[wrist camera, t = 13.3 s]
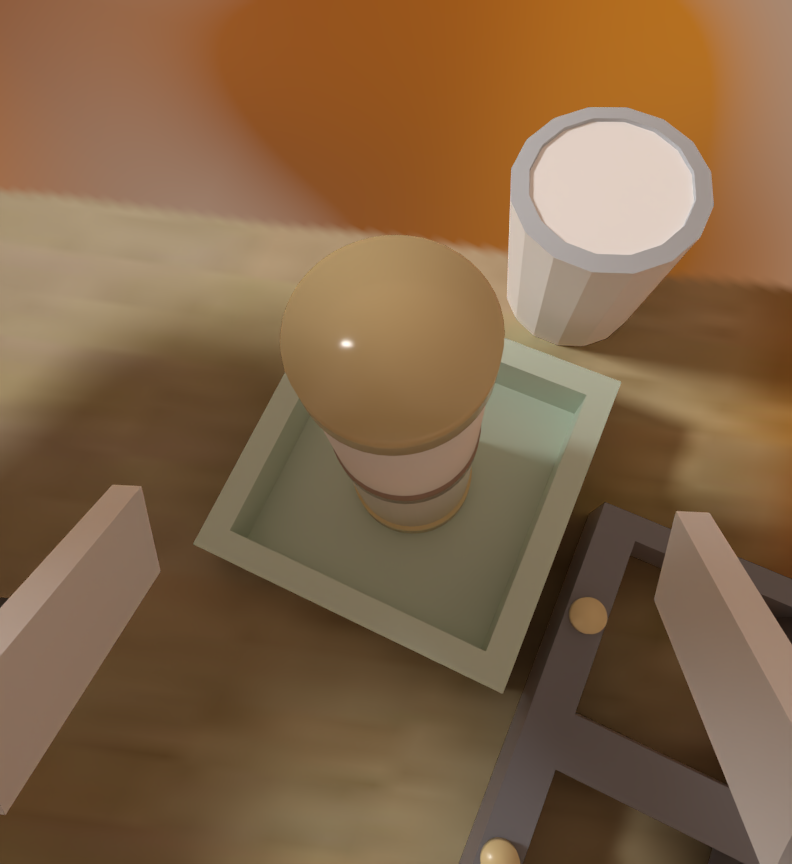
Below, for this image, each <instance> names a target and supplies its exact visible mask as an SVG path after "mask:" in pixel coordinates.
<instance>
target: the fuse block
mask: <svg viewBox="0 0 792 864" xmlns="http://www.w3.org/2000/svg"><path fill="white" fill-rule="evenodd" d="M670 533H671V529H669V528H667V527H664V526H662V525H660V524H657V523H655V522H652V521H650V520H647V519H645V518H643V517H640V516H638V515H635V514H633V513H631V512H628V511H626V510H623V509H621V508H618V507H616V506H614V505H611V504H609V503H606V502H605V503H603V504H602V505H601V506H599V507H598V508H596V509H595V510H594V511H592V512H591V513H590V514H589V515H588V518H587V521H586V523H585V526H584V529H583V531H582V534H581V537H580V540H579V542H578V545H577V548H576V550H575V553H574V556H573V558H572V561H571V564H570V566H569V569H568V572H567V574H566V577H565V580H564V583H563V585H562V588H561V591H560V593H559V596H558V599H557V601H556V604H555V607H554V609H553V612H552V615H551V617H550V620H549V623H548V626H547V628H546V631H545V634H544V636H543V639H542V642H541V644H540V647H539V650H538V652H537V655H536V658H535V660H534V663H533V666H532V669H531V671H530V674H529V677H528V679H527V682H526V685H525V687H524V690H523V693H522V695H521V698H520V701H519V703H518V706H517V709H516V712H515V714H514V717H513V720H512V722H511V725H510V728H509V730H508V733H507V736H506V738H505V741H504V744H503V746H502V749H501V752H500V755H499V757H498V760H497V763H496V765H495V768H494V771H493V773H492V776H491V779H490V781H489V784H488V787H487V790H486V792H485V795H484V798H483V800H482V803H481V806H480V808H479V811H478V814H477V816H476V819H475V822H474V824H473V827H472V830H471V833H470V835H469V838H468V841H467V843H466V846H465V849H464V851H463V854H462V857H461V859H460V862H459V864H523V862H524V859H525V856H526V853H527V850H528V848H529V845H530V842H531V839H532V836H533V833H534V830H535V827H536V825H537V822H538V819H539V816H540V813H541V810H542V807H543V805H544V802H545V799H546V796H547V793H548V790H549V787H550V784H551V782H552V779H553V776H554V773H555V770H558V771H560V772H562V773H564V774H566V775H568V776H570V777H572V778H574V779H576V780H578V781H580V782H582V783H584V784H586V785H588V786H590V787H592V788H594V789H596V790H598V791H600V792H602V793H604V794H606V795H608V796H610V797H612V798H614V799H616V800H618V801H620V802H622V803H624V804H626V805H628V806H630V807H632V808H634V809H636V810H638V811H640V812H642V813H644V814H646V815H648V816H650V817H652V818H654V819H656V820H658V821H660V822H662V823H664V824H666V825H668V826H670V827H672V828H674V829H676V830H678V831H680V832H682V833H684V834H686V835H688V836H690V837H692V838H694V839H696V840H698V841H700V842H702V843H704V844H706V845H708V846H710V847H712V851H711V854H710V858H709V862H708V864H760V863H759V861H758V858H757V856H756V853H755V851H754V848H753V846H752V843H751V841H750V838H749V836H748V833H747V831H746V828H745V826H744V823H743V821H742V818H741V816H740V813H739V811H738V808H737V806H736V803H735V801H734V798H733V796H732V793H731V791H730V788H729V786H728V785H727V784H725V783H722V782H720V781H718V780H716V779H714V778H712V777H710V776H708V775H706V774H704V773H702V772H699V771H697V770H695V769H693V768H691V767H689V766H687V765H685V764H683V763H681V762H679V761H676V760H674V759H672V758H670V757H668V756H666V755H664V754H662V753H660V752H658V751H656V750H653V749H651V748H649V747H647V746H645V745H643V744H641V743H639V742H637V741H635V740H633V739H630V738H628V737H626V736H624V735H622V734H620V733H618V732H616V731H614V730H612V729H610V728H607V727H605V726H603V725H601V724H599V723H597V722H595V721H593V720H591V719H589V718H587V717H584V716H582V715H580V714H578V713H576V710H577V707H578V704H579V701H580V698H581V695H582V692H583V690H584V687H585V684H586V681H587V678H588V675H589V672H590V669H591V667H592V664H593V661H594V658H595V655H596V652H597V649H598V646H599V644H600V641H601V638H602V635H603V632H604V629H605V626H606V623H607V621H608V618H609V615H610V612H611V609H612V606H613V603H614V600H615V598H616V595H617V592H618V589H619V586H620V583H621V580H622V577H623V575H624V572H625V569H626V566H627V563H628V560H629V557H630V555H631V556H633V557H635V558H638V559H640V560H642V561H645V562H647V563H649V564H652V565H654V566H656V567H659V568H661V569H662V565H663V561H664V557H665V553H666V549H667V545H668V541H669V537H670ZM737 558H738V559H739V561H740V562H741V564H742V566H743V567H744V569H745V570H746V572H747V574H748V575H749V577H750V578H751V580H752V582H753V583H754V585H755V586H756V588H757V590H758V591H759V593H760V595H761V596H762V598H763V599H764V601H765V603H766V604H767V606H768V607H769V609H770V611H771V612H772V614H773V615H774V617H776V620H777V622H778V623H779V625H780V627H781V628H782V630H783V631H784V633H785V635H786V636H787V638H788V639H789V641H790V643H791V644H792V579H790V578H788V577H785V576H783V575H781V574H778V573H776V572H773V571H771V570H768V569H766V568H764V567H761V566H759V565H756V564H754V563H752V562H749V561H747V560H744V559H742V558H739V557H737Z"/></svg>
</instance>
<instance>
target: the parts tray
mask: <svg viewBox="0 0 792 864" xmlns="http://www.w3.org/2000/svg"><path fill="white" fill-rule="evenodd" d="M620 384H621V382H620V381H618V380H615V379H612V378H610V377H607V376H604V375H602V374H599V373H596V372H594V371H591V370H588V369H586V368H583V367H580V366H578V365H575V364H572V363H570V362H567V361H564V360H562V359H559V358H556V357H554V356H551V355H549V354H546V353H543V352H541V351H538V350H535V349H533V348H530V347H527V346H525V345H522V344H519V343H517V342H514V341H511V340H509V339H506V338H504V348H503V354H502V359H501V363H500V367H499V371H498V375H497V379H496V382H495V385H494V388H493V391H492V394H491V396H490V398H489V400H488V402H487V404H486V406H485V410H484V415H483V419H482V423H481V434H480V439H479V444H478V448H477V452H476V455H475V458H474V461H473V463H472V477H471V483H470V487H469V491H468V494H467V497H466V500H465V502H464V504H463V506H462V507H461V509H460V510H459V512H458V513H457V514H456V515H455V516H454V517H453V518H452V519H451V520H450V521H448V522H447V523H446V524H444V525H443V526H441V527H439V528H437V529H435V530H432V531H428V532H424V533H416V534H410V533H402V532H397V531H394V530H391V529H389V528H387V527H385V526H383V525H382V524H380V523H379V522H377V521H376V520H375V519H374V518H373V517H372V516H371V515H370V514H369V513H368V511H367V510H366V509H365V507H364V505H363V504H362V502H361V500H360V499H359V497H358V495H357V492H356V490H355V486H354V483H353V481H352V480H351V479H350V478H349V476H348V475H347V474H346V472H345V471H344V469H343V467H342V466H341V464H340V462H339V461H338V459H337V457H336V454H335V452H334V450H333V447H332V445H331V443H330V442H329V440H328V438H327V436H326V435H325V433H324V431H323V429H322V428H320V427H319V426H318V425H317V424H316V422H315V421H314V420H313V419H312V418H311V416H310V415H309V414H308V412H307V410H306V409H305V407H304V406H303V404H302V402H301V401H300V399H299V397H298V396H297V394H296V392H295V391H294V389H293V387H292V386H291V384H290V382H289V379H288V377H287V375H286V373H284V375H283V377H282V379H281V381H280V383H279V384H278V386H277V388H276V390H275V392H274V394H273V396H272V398H271V399H270V401H269V403H268V405H267V407H266V409H265V411H264V412H263V414H262V416H261V418H260V420H259V422H258V424H257V425H256V427H255V429H254V431H253V433H252V435H251V437H250V439H249V440H248V442H247V444H246V446H245V448H244V450H243V452H242V453H241V455H240V457H239V459H238V461H237V463H236V465H235V467H234V468H233V470H232V472H231V474H230V476H229V478H228V480H227V481H226V483H225V485H224V487H223V489H222V491H221V493H220V494H219V496H218V498H217V500H216V502H215V504H214V506H213V508H212V509H211V511H210V513H209V515H208V517H207V519H206V521H205V522H204V524H203V526H202V528H201V530H200V532H199V534H198V536H197V537H196V539H195V541H194V543H193V545H195V546H198V547H200V548H202V549H204V550H206V551H208V552H210V553H212V554H214V555H216V556H218V557H220V558H222V559H224V560H227V561H229V562H231V563H233V564H235V565H237V566H239V567H241V568H243V569H245V570H247V571H249V572H251V573H253V574H255V575H258V576H260V577H262V578H264V579H266V580H268V581H270V582H272V583H274V584H276V585H278V586H280V587H282V588H284V589H286V590H289V591H291V592H293V593H295V594H297V595H299V596H301V597H303V598H305V599H307V600H309V601H311V602H313V603H315V604H318V605H320V606H322V607H324V608H326V609H328V610H330V611H332V612H334V613H336V614H338V615H340V616H342V617H344V618H346V619H349V620H351V621H353V622H355V623H357V624H359V625H361V626H363V627H365V628H367V629H369V630H371V631H373V632H375V633H378V634H380V635H382V636H384V637H386V638H388V639H390V640H392V641H394V642H396V643H398V644H400V645H402V646H404V647H406V648H409V649H411V650H413V651H415V652H417V653H419V654H421V655H423V656H425V657H427V658H429V659H431V660H433V661H435V662H437V663H440V664H442V665H444V666H446V667H448V668H450V669H452V670H454V671H456V672H458V673H460V674H462V675H464V676H466V677H469V678H471V679H473V680H475V681H477V682H479V683H481V684H483V685H485V686H487V687H489V688H491V689H493V690H495V691H497V692H500V693H502V694H503V692H504V690H505V687H506V684H507V682H508V679H509V677H510V674H511V671H512V669H513V666H514V663H515V661H516V658H517V655H518V653H519V650H520V648H521V645H522V642H523V640H524V637H525V634H526V632H527V629H528V626H529V624H530V621H531V619H532V616H533V613H534V611H535V608H536V605H537V603H538V600H539V598H540V595H541V592H542V590H543V587H544V584H545V582H546V579H547V576H548V574H549V571H550V569H551V566H552V563H553V561H554V558H555V555H556V553H557V550H558V547H559V545H560V542H561V540H562V537H563V534H564V532H565V529H566V526H567V524H568V521H569V518H570V516H571V513H572V511H573V508H574V505H575V503H576V500H577V497H578V495H579V492H580V490H581V487H582V484H583V482H584V479H585V476H586V474H587V471H588V468H589V466H590V463H591V461H592V458H593V455H594V453H595V450H596V447H597V445H598V442H599V439H600V437H601V434H602V432H603V429H604V426H605V424H606V421H607V418H608V416H609V413H610V411H611V408H612V405H613V403H614V400H615V397H616V395H617V392H618V389H619V387H620Z"/></svg>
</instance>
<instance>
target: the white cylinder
mask: <svg viewBox="0 0 792 864" xmlns="http://www.w3.org/2000/svg"><path fill="white" fill-rule="evenodd" d="M713 206H714V202H713V190H712V179H711V172H710V170H709V168H708V166H707V165H706V163H705V161H704V160H703V158H702V156H701V154H700V153H699V151H698V149H697V148H696V146H695V145H694V143H693V142H692V141H691V140H690V139H688V138H687V137H686V136H684V135H683V134H682V133H681V132H679V131H678V130H676V129H675V128H674V127H672V126H671V125H670V124H669V123H667V122H666V121H665V120H663V119H660V118H657V117H654V116H651V115H648V114H645V113H642V112H638V111H636V110H633V109H630V108H614V107H588V108H585V109H582V110H579V111H575V112H573V113H569V114H566V115H563V116H560V117H556V118H554V119H552V120H551V121H550V122H549V123H547V124H546V125H545V126H544V127H542V128H541V129H540V130H538V131H537V132H536V133H535V134H533V135H532V136H531V137H529V138H528V139H527V140H526V142H525V144H524V146H523V148H522V150H521V151H520V153H519V155H518V157H517V159H516V161H515V163H514V164H513V166H512V168H511V195H510V222H509V250H508V278H507V299H508V302H509V304H510V306H511V308H512V311H513V313H514V315H515V318H516V319H517V320H518V321H519V322H520V323H521V324H522V325H523V326H524V327H525V328H526V329H527V330H528V331H529V332H530V333H531V334H533V335H534V336H536V337H538V338H541V339H543V340H546V341H548V342H551V343H553V344H555V345H564V346H585V345H588V344H591V343H594V342H597V341H600V340H603V339H606V338H608V337H609V336H610V335H611V334H612V333H613V332H615V331H616V330H617V329H618V328H619V327H620V326H621V325H623V324H624V323H625V322H626V320H627V319H628V318H629V317H630V316H631V315H632V314H633V313H634V311H635V310H636V309H637V308H638V307H639V306H640V305H641V304H642V302H643V301H644V300H645V299H646V298H647V297H648V296H649V294H650V293H651V292H652V291H653V290H654V289H655V288H656V287H657V285H658V284H659V283H660V282H661V281H662V280H663V279H664V278H665V276H666V275H667V274H668V273H669V272H670V271H671V270H672V268H673V267H674V266H675V265H676V264H677V263H678V262H679V261H680V259H681V258H682V257H683V256H684V255H685V254H686V253H687V251H688V250H689V249H690V248H691V247H692V246H693V245H694V244H695V242H696V241H697V240H698V239H699V238H700V237H701V234H702V232H703V230H704V227H705V225H706V223H707V220H708V218H709V215H710V213H711V211H712V208H713Z"/></svg>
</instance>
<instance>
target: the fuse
mask: <svg viewBox="0 0 792 864" xmlns="http://www.w3.org/2000/svg"><path fill="white" fill-rule="evenodd" d="M504 336H505V330H504V320H503V315H502V311H501V307H500V304H499V301H498V299H497V296H496V294H495V292H494V290H493V289H492V287H491V285H490V283H489V282H488V280H487V279H486V278H485V277H484V275H483V274H482V273H481V271H480V270H479V269H478V268H477V267H475V266H474V265H473V264H472V263H471V262H470V261H469V260H468V259H466V258H465V257H464V256H462V255H461V254H460V253H458V252H456V251H454V250H453V249H451V248H449V247H447V246H445V245H442V244H440V243H437V242H435V241H431V240H428V239H424V238H420V237H414V236H406V235H387V236H377V237H372V238H367V239H363V240H360V241H357V242H353V243H351V244H349V245H346V246H344V247H342V248H340V249H338V250H336V251H334V252H333V253H331V254H329V255H328V256H326V257H325V258H324V259H322V260H321V261H320V262H318V263H317V264H316V265H315V266H314V267H313V268H312V269H311V270H310V271H309V272H308V273H307V274H306V275H305V276H304V277H303V279H302V280H301V281H300V282H299V284H298V285H297V287H296V289H295V290H294V292H293V293H292V295H291V297H290V299H289V302H288V304H287V306H286V309H285V312H284V315H283V319H282V324H281V331H280V350H281V358H282V362H283V366H284V369H285V373H286V375H287V377H288V379H289V382H290V384H291V386H292V387H293V389H294V391H295V392H296V394H297V396H298V397H299V399H300V401H301V402H302V404H303V406H304V407H305V409H306V410H307V412H308V414H309V415H310V416H311V418H312V419H313V420H314V421H315V422H316V424H317V425H318V426H319V427H320V428H322V429H323V431H324V433H325V435H326V436H327V438H328V440H329V442H330V443H331V445H332V447H333V450H334V452H335V454H336V457H337V459H338V461H339V462H340V464H341V466H342V467H343V469H344V471H345V472H346V474H347V475H348V476H349V478H350V479H351V480H352V481H353V483H354V486H355V490H356V492H357V495H358V497H359V499H360V500H361V502H362V504H363V505H364V507H365V509H366V510H367V511H368V513H369V514H370V515H371V516H372V517H373V518H374V519H375V520H376V521H377V522H379V523H380V524H382V525H383V526H385V527H387V528H389V529H391V530H394V531H397V532H402V533H410V534H416V533H424V532H428V531H432V530H435V529H437V528H439V527H441V526H443V525H444V524H446V523H447V522H448V521H450V520H451V519H452V518H453V517H454V516H455V515H456V514H457V513H458V512H459V510H460V509H461V507H462V506H463V504H464V502H465V500H466V497H467V494H468V491H469V487H470V483H471V477H472V463H473V461H474V458H475V455H476V452H477V448H478V444H479V439H480V434H481V423H482V419H483V415H484V410H485V406H486V404H487V402H488V400H489V398H490V396H491V394H492V391H493V388H494V385H495V382H496V379H497V375H498V371H499V367H500V363H501V359H502V354H503V348H504Z"/></svg>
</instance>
